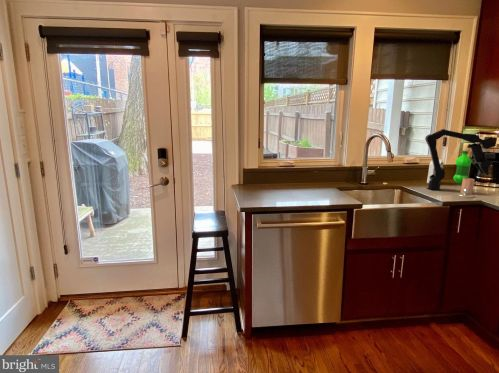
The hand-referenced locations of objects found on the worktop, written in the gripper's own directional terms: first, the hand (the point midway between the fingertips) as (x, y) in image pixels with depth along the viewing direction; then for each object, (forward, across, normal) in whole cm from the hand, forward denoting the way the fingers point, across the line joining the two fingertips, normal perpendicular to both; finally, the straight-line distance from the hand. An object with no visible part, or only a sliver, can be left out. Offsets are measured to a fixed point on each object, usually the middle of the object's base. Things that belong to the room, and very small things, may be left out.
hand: (484, 173), depth 221 cm
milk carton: (+3, +23, +28) cm, 37 cm away
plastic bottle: (+11, +34, +10) cm, 37 cm away
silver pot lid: (+7, -12, +17) cm, 22 cm away
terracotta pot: (+9, -3, +15) cm, 17 cm away
